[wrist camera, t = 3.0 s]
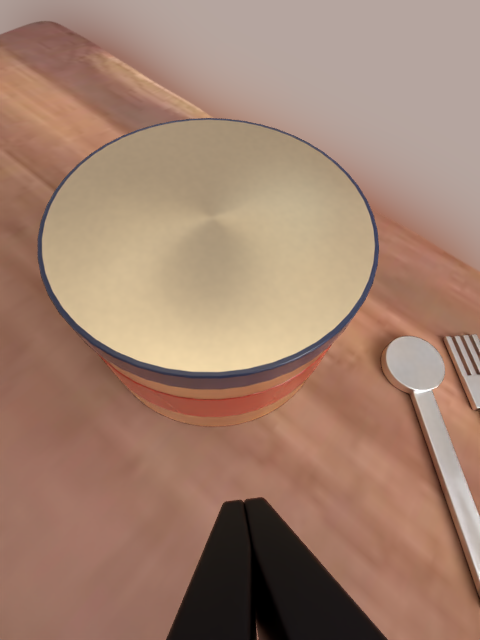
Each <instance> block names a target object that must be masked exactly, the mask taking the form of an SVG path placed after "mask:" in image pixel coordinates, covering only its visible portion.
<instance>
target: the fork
mask: <svg viewBox="0 0 480 640" xmlns="http://www.w3.org/2000/svg"><path fill="white" fill-rule="evenodd" d="M443 340H444V343H445V345H446V347H447V350H448V352H449V354H450V357H451V359H452V361H453V364H454V366H455V369H456V371H457V373H458V376H459V378H460V381H461V383H462V386H463V388H464V390H465V393H466V395H467V398H468V400H469V402H470V405H471V407H472V409H473V410H477V409H480V341H479V338H478V336H477V334H472V335H470V336H468V335H463V336H461V337H460V336H454V337H452V338H451V336H448V337H445V338H443ZM459 356H460V357H459Z"/></svg>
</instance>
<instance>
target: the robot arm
mask: <svg viewBox="0 0 480 640" xmlns="http://www.w3.org/2000/svg"><path fill="white" fill-rule="evenodd" d="M256 625H257V632H258V637H259V640H388V639H387V638H386V637H385V636H384V635H383V634H382V632H381V631H380V630H379V629H378V628H377V627H376V626H375V624H374V623H373V622H372V621H371V620H370V619H369V618H368V616H367V615H366V614H365V613H364V612H363V611H362V610H361V608H360V607H359V606H358V605H357V604H356V603H355V602H354V600H353V599H352V598H351V597H350V596H349V595H348V594H347V592H346V591H345V590H344V589H343V588H342V587H341V585H340V584H339V583H338V582H337V581H336V580H335V579H334V577H333V576H332V575H331V574H330V573H329V572H328V571H327V569H326V568H325V567H324V566H323V565H322V564H321V563H320V561H319V560H318V559H317V558H316V557H315V556H314V555H313V553H312V552H311V551H310V550H309V549H308V548H307V547H306V545H305V544H304V543H303V542H302V541H301V540H300V539H299V537H298V536H297V535H296V534H295V533H294V532H293V530H292V529H291V528H290V527H289V526H288V525H287V524H286V522H285V521H284V520H283V519H282V518H281V517H280V516H279V514H278V513H277V512H276V511H275V510H274V509H273V508H272V506H271V505H270V504H269V503H268V502H267V501H266V500H265V499H264V498H262V497H259V498H251V499H246V500H245V501H244V502H243V501H242V500H234V501H226V502H224V503H223V505H222V507H221V509H220V512H219V514H218V517H217V519H216V521H215V524H214V526H213V529H212V531H211V533H210V536H209V538H208V541H207V543H206V545H205V548H204V550H203V553H202V555H201V557H200V560H199V562H198V565H197V567H196V569H195V572H194V574H193V577H192V579H191V581H190V584H189V586H188V588H187V591H186V593H185V596H184V598H183V600H182V603H181V605H180V608H179V610H178V612H177V615H176V617H175V620H174V622H173V624H172V627H171V629H170V632H169V634H168V636H167V639H166V640H257V632H256Z"/></svg>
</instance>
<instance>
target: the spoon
mask: <svg viewBox="0 0 480 640" xmlns="http://www.w3.org/2000/svg"><path fill="white" fill-rule="evenodd" d="M381 366H382V370H383V372H384V374H385V376H386V378H387V379H388V380H389V382H390V383H391V384H392V385H394V386H395V387H396V388H398V389H399V390H401V391H403V392H406V393H409V394H410V397H411V399H412V402H413V405H414V408H415V411H416V414H417V417H418V420H419V423H420V426H421V429H422V431H423V434H424V437H425V440H426V443H427V446H428V449H429V452H430V455H431V458H432V461H433V463H434V466H435V469H436V472H437V475H438V478H439V481H440V484H441V487H442V490H443V493H444V495H445V498H446V501H447V504H448V507H449V510H450V513H451V516H452V519H453V522H454V525H455V527H456V530H457V533H458V536H459V539H460V542H461V545H462V548H463V551H464V554H465V557H466V559H467V562H468V565H469V568H470V571H471V574H472V577H473V580H474V583H475V586H476V589H477V591H478V594H479V597H480V516H479V514H478V511H477V508H476V506H475V503H474V500H473V498H472V495H471V492H470V490H469V487H468V484H467V482H466V479H465V476H464V474H463V471H462V469H461V466H460V463H459V461H458V458H457V455H456V453H455V450H454V447H453V445H452V442H451V439H450V437H449V434H448V431H447V429H446V426H445V423H444V421H443V418H442V415H441V413H440V410H439V407H438V405H437V402H436V400H435V397H434V394H433V392H432V390H433V389H435V388H436V387H438V386H439V385H440V384H441V382H442V381H443V378H444V375H445V366H444V362H443V359H442V357H441V355H440V354H439V352H438V351H437V350H436V349H435V348H434V347H433V346H432V345H431V344H430V343H428V342H427V341H425V340H423V339H421V338H418V337H414V336H402V337H398V338H396V339H394V340H393V341H392V342H391V343H390V344H389V345H388V346H387V347H386V348H385V349H384V351H383V353H382V356H381Z"/></svg>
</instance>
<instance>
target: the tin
mask: <svg viewBox="0 0 480 640" xmlns="http://www.w3.org/2000/svg"><path fill="white" fill-rule="evenodd" d="M378 254H379V242H378V231H377V227H376V223H375V219H374V215H373V213H372V211H371V208H370V206H369V204H368V201H367V199H366V198H365V196H364V195H363V193H362V191H361V190H360V188H359V186H358V185H357V184H356V182H355V181H354V180H353V179H352V178H351V176H350V175H349V174H348V173H347V172H346V171H345V170H344V169H343V168H342V167H341V166H340V165H339V164H338V163H337V162H336V161H334V160H333V159H332V158H330V157H329V156H328V155H326V154H325V153H324V152H323V151H321V150H319V149H318V148H316V147H314V146H313V145H311V144H310V143H308V142H306V141H304V140H302V139H300V138H298V137H296V136H294V135H291V134H288V133H286V132H283V131H280V130H278V129H275V128H271V127H268V126H264V125H261V124H256V123H251V122H246V121H239V120H231V119H216V118H201V119H186V120H178V121H171V122H166V123H161V124H156V125H152V126H149V127H146V128H142V129H139V130H136V131H134V132H131V133H129V134H126V135H123V136H121V137H119V138H117V139H115V140H113V141H111V142H109V143H107V144H105V145H104V146H102V147H101V148H99V149H98V150H96V151H94V152H93V153H91V154H90V155H89V156H88V157H86V158H85V159H84V160H83V161H81V162H80V163H79V164H78V165H77V166H76V167H75V168H74V169H73V170H72V171H71V172H70V173H69V174H68V175H67V176H66V177H65V178H64V179H63V181H62V182H61V183H60V185H59V186H58V187H57V189H56V190H55V192H54V193H53V195H52V197H51V199H50V201H49V202H48V204H47V206H46V209H45V212H44V215H43V217H42V220H41V224H40V229H39V235H38V263H39V268H40V273H41V278H42V280H43V283H44V286H45V288H46V291H47V293H48V296H49V297H50V299H51V301H52V302H53V304H54V306H55V307H56V309H57V310H58V312H59V313H60V315H61V316H62V317H63V318H64V319H65V320H66V322H67V323H68V324H69V325H70V326H71V327H72V328H73V330H74V331H75V332H76V333H77V334H78V335H79V336H80V338H81V339H82V340H83V341H84V342H85V343H86V344H87V345H88V346H89V347H90V348H92V349H93V350H94V351H95V352H96V353H97V354H98V355H99V356H100V357H101V359H102V360H103V361H104V362H105V363H106V364H107V366H108V367H109V368H110V369H111V370H112V371H113V373H114V374H115V375H116V376H117V377H118V378H119V379H120V381H121V382H122V383H123V384H125V385H126V387H127V388H128V389H129V390H130V391H131V392H132V393H133V395H134V396H135V397H137V398H138V399H139V400H140V401H141V402H142V403H144V404H145V405H146V406H148V407H149V408H151V409H152V410H154V411H156V412H157V413H159V414H161V415H163V416H166V417H168V418H170V419H173V420H176V421H179V422H183V423H186V424H190V425H198V426H205V427H222V426H229V425H237V424H241V423H245V422H248V421H252V420H255V419H257V418H259V417H262V416H264V415H266V414H268V413H270V412H272V411H273V410H275V409H277V408H278V407H280V406H282V405H283V404H284V403H285V402H286V401H288V400H289V399H290V398H291V397H293V396H294V394H295V393H296V392H297V391H298V390H299V389H300V388H301V387H302V386H303V384H304V383H305V381H306V380H307V379H308V377H309V376H310V375H311V373H312V372H313V371H314V370H315V368H316V367H317V365H318V364H319V362H320V361H321V360H322V358H323V357H324V355H325V354H326V352H327V351H328V349H329V348H330V346H331V345H332V343H333V342H334V341H335V340H336V339H337V338H338V337H339V336H340V335H341V334H342V333H343V332H344V330H345V329H346V327H347V326H348V324H349V323H350V322H351V320H352V319H353V317H354V316H355V314H356V313H357V311H358V310H359V308H360V307H361V306H362V304H363V303H364V301H365V299H366V297H367V295H368V293H369V291H370V288H371V286H372V284H373V281H374V277H375V273H376V270H377V266H378Z"/></svg>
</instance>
